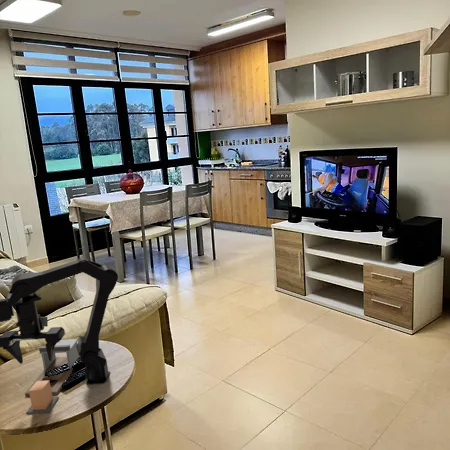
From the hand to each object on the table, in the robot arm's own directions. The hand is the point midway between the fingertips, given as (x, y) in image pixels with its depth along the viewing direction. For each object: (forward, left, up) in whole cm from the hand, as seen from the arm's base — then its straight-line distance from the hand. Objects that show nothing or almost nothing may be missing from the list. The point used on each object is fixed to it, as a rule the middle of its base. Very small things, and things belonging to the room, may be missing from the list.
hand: (36, 361), depth 132 cm
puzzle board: (+1, -11, -12) cm, 16 cm away
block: (-3, +5, -12) cm, 13 cm away
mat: (-2, +5, -12) cm, 13 cm away
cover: (0, -17, -11) cm, 20 cm away
